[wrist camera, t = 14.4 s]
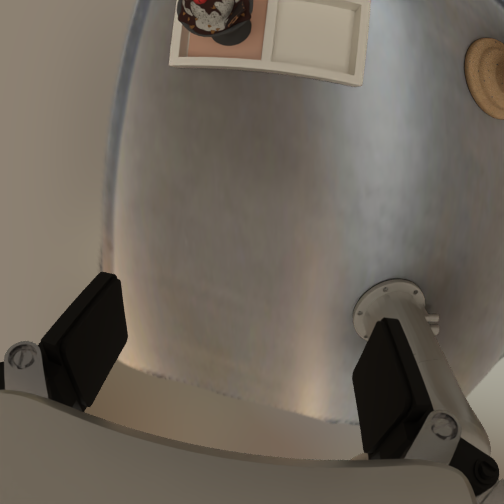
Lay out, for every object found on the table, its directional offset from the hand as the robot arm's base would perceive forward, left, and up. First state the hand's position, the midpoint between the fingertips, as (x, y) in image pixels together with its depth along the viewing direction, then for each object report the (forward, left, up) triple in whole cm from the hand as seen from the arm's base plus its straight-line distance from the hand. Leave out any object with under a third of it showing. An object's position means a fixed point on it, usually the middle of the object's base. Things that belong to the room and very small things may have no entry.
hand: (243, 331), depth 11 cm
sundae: (+6, -16, -29) cm, 34 cm away
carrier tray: (+1, -16, -30) cm, 34 cm away
